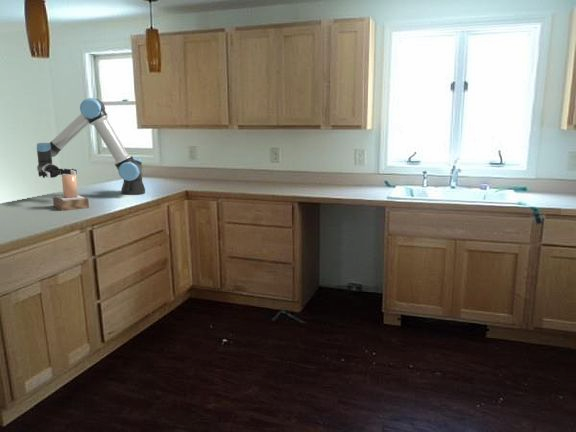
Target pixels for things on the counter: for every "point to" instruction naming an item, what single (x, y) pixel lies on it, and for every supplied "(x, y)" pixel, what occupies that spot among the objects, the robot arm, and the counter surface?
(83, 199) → the walnut base
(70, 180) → the peach glossy cylinder
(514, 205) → the counter surface
